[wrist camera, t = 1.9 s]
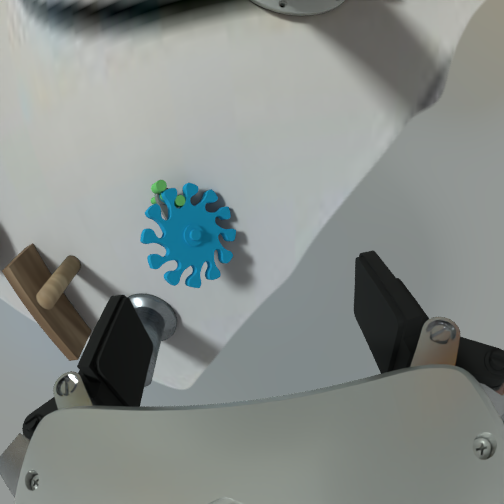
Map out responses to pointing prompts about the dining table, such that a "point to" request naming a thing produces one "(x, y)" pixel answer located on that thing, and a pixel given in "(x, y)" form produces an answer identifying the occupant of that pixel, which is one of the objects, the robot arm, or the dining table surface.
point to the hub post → (154, 323)
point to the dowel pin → (58, 282)
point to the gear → (187, 233)
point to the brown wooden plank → (51, 321)
